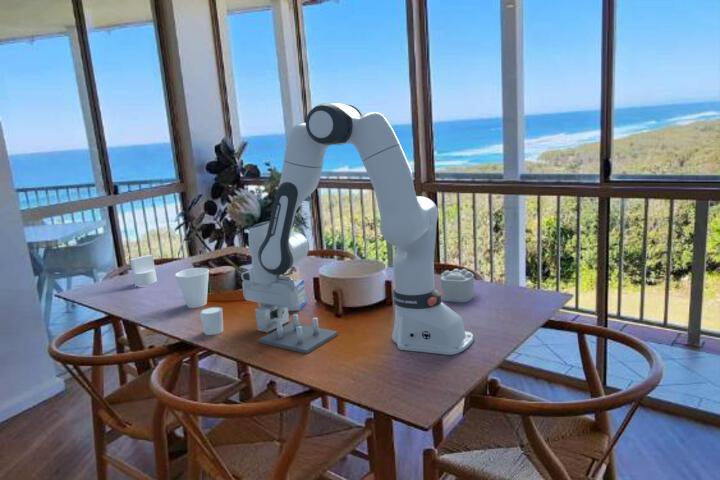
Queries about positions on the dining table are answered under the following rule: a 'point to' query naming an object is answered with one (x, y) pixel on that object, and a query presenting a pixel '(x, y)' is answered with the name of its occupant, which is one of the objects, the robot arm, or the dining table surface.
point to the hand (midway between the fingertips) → (272, 316)
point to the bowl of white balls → (457, 285)
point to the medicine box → (299, 295)
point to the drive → (269, 317)
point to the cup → (194, 286)
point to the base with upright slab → (143, 270)
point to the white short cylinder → (212, 320)
